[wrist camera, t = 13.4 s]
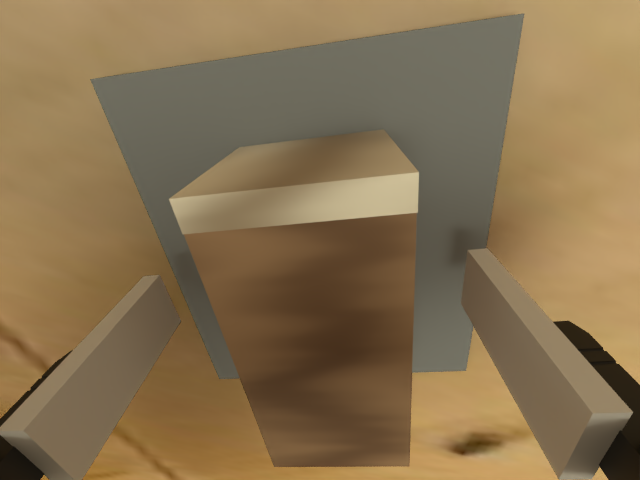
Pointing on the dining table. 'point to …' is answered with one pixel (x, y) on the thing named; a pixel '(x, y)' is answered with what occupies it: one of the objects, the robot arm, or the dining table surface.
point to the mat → (328, 120)
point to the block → (314, 290)
